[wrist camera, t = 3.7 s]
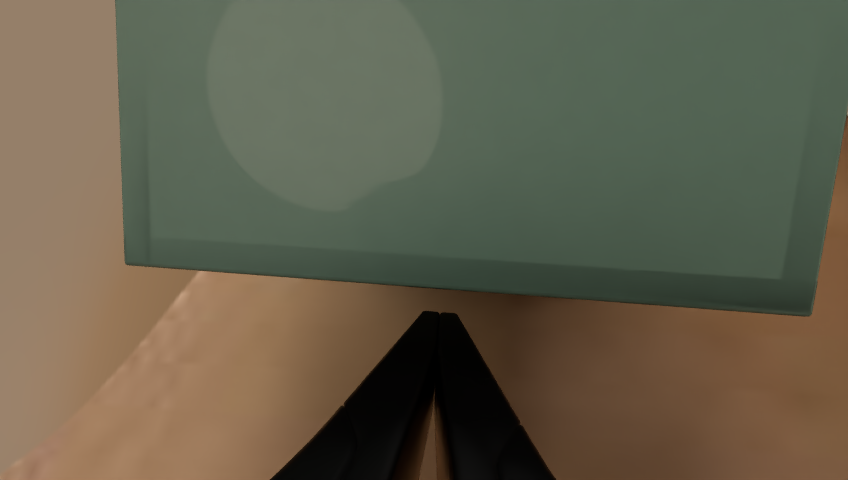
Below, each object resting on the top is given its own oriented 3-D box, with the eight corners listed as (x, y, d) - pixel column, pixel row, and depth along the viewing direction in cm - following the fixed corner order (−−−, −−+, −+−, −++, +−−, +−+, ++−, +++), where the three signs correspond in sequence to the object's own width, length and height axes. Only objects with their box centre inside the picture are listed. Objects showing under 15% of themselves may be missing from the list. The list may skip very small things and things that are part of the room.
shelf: (555, 240, 17) (814, 317, 5) (346, 227, 18) (123, 265, 6) (566, 130, 16) (887, -94, 4) (349, 122, 17) (110, -80, 5)
